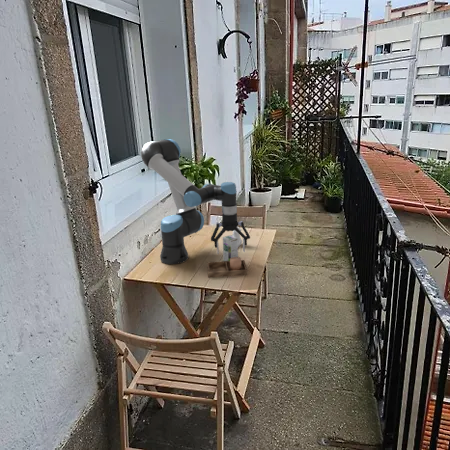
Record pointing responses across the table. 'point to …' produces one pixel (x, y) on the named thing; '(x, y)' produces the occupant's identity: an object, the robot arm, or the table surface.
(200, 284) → the table surface
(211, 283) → the table surface
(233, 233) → the sitting furry creature
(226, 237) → the syrup box
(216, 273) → the caddy
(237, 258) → the tan rounded block
